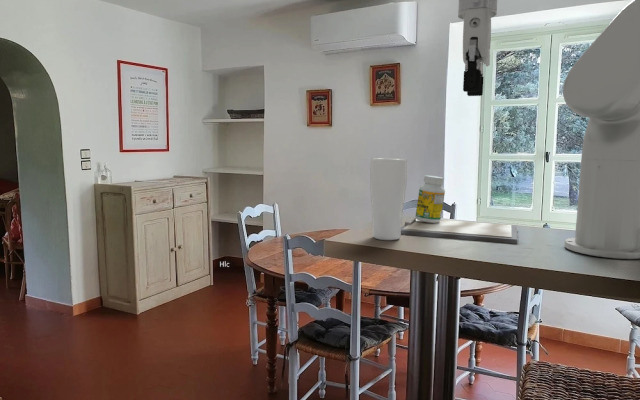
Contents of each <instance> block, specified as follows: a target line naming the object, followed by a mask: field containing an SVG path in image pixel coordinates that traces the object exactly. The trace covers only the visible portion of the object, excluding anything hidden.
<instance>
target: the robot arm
mask: <svg viewBox="0 0 640 400" xmlns="http://www.w3.org/2000/svg"><path fill="white" fill-rule="evenodd" d="M497 9H498V0H458V9H457V10H458V11H457V14H458V15H457V17H458V19H460V20H463V27H462V28H463V29H462V61H463V63H464V71H463V82H462V91H463V92H466V95H467V96H468V97H481V96H483V95H484V94H483V93H484V78H485V77H484V76H483V75H484V73H483V72H484V65H485V66H486V67H489V66H490V60H491V42H492V41H491V39H492V38H491V37H492V18H494V17H495V16H497V14H498V13H497V11H498V10H497ZM562 94H563V95H562V96H563V99H564V102H565V104H566V106H567V107H568V109H569V110H570V111H572V112H573V113H575V114H577V115H578V116H581V117H584V118H588V122H587V124H586V125H587V126H586V127H585V132H584V135H583V141H582V148H581V158H580V172H579V173H580V174H579V183H578V195H577V209H576V219H575V220H576V221H575V222H576V223H575V233H574V234H575V235H574V237H569V238H566V239H565V240H564V245H563V246H564V248H566V249H567V250H570V251H572V252H575V253H577V254H583V255H588V256H593V257H601V258H608V259H616V260H617V259H621V260H639V259H640V0H631V1H630V2H629V3H628V4H626V5H625V6H624V7H623V8H622V9H621V10H620V11H619V12H618V13H617V14H616V16H614V18H613V19H612V20H611V21H610V23H608V24H607V26H606V27H605V28H604V29H603V30H602V31H601V32H600V34H599V35H598V36H597V37H596V39H595V40H594V41H593V42H592V43H591V44H590V45H589V46H588V48H587V49H586V50H585V51H584V52H583V53H582V55H581V56H579V58H578V59H577V60H576V61H575V63H574V64H573V65H572V67H571V68H570V69H569V70H568V73H567V75H566V76H565V80H564V84H563V87H562Z"/></svg>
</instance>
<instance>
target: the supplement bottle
mask: <svg viewBox="0 0 640 400" xmlns="http://www.w3.org/2000/svg"><path fill="white" fill-rule="evenodd" d="M423 177H424V179H423V182H424V184H422V185H420V187H419V189H418V196H417V204H416V211H415V217H414V218H416V219H417V220H420V221H424V222H429V223H439V222H440V220H442V213H443V207H444V201H445V193H446V189H445V188H444V187H443V186H442V185H443V184H444V179H445V178H444V177H441V176H436V175H427V174H425V175H424V176H423Z"/></svg>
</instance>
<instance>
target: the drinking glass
mask: <svg viewBox="0 0 640 400" xmlns="http://www.w3.org/2000/svg"><path fill="white" fill-rule="evenodd" d="M369 171H370V172H369V185H370V200H371V216H372V217H371V218H372V220H371V221H372V236H373V238H374V239H376V240H380V241H396V240H399V239H400V238H401V236H402V234H401V227H402V223H403V214H404V206H405V198H406V189H407V179H408V160H407V158H398V157H397V158H394V157H393V158H392V157H390V158H389V157H378V158H377V157H375V158H374V157H373V158H371V159H370V167H369Z"/></svg>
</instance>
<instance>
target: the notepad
mask: <svg viewBox="0 0 640 400" xmlns="http://www.w3.org/2000/svg"><path fill="white" fill-rule="evenodd" d="M401 235H406V236H407V235H408V236H416V237H417V236H418V237H419V236H420V237H429V238H431V237H432V238H443V239H444V238H445V239H452V240H453V239H454V240H456V239H457V240H464V241H465V240H467V241H478V242H479V241H480V242H491V243H501V244H515V245H517V244H518V230H517V225H516V224H504V223H492V222H491V223H489V222H477V221H476V222H475V221H463V220H462V221H461V220H448V219H447V220H446V219H441V220H440V222H439V223H429V222H424V221H420V220H417V219H416V217H410V218H409V219H407V220H406V221H405V222H404V224H403V225H401Z"/></svg>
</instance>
